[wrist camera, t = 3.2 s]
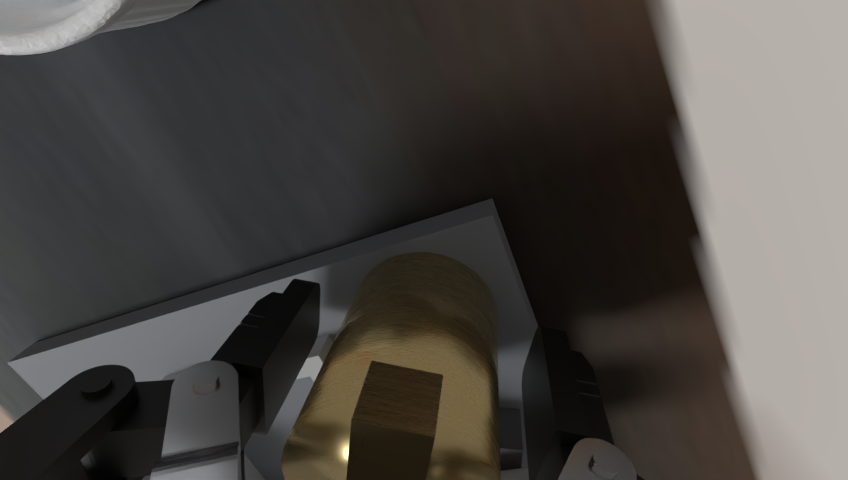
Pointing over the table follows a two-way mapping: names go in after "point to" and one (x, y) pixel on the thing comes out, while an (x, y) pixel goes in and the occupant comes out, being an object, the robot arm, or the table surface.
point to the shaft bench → (339, 281)
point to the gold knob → (406, 381)
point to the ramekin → (74, 20)
